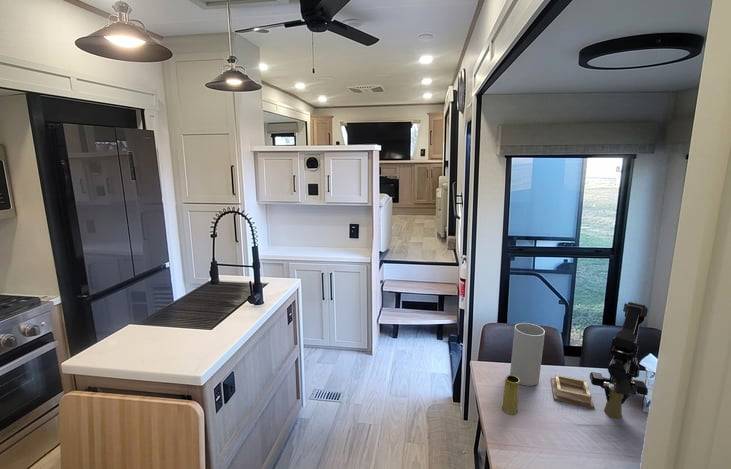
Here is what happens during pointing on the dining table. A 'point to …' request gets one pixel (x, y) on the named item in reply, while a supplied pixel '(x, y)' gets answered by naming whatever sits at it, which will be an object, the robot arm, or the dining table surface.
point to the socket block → (571, 391)
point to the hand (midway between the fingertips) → (614, 401)
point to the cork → (614, 404)
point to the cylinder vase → (527, 353)
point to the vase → (511, 395)
